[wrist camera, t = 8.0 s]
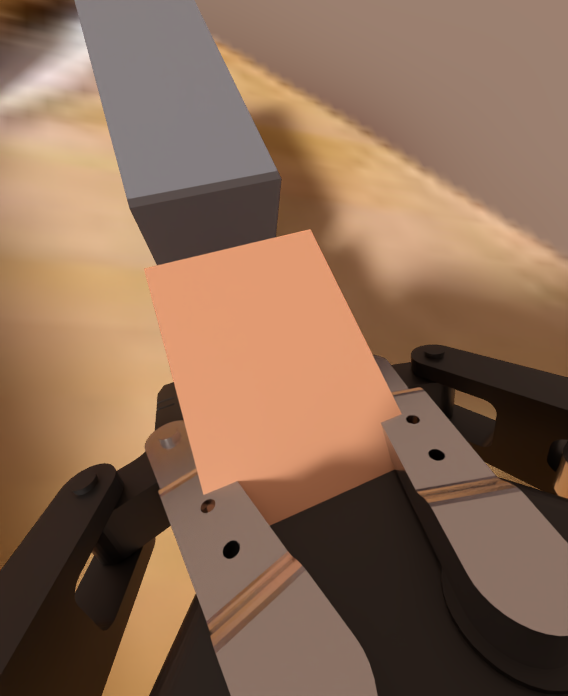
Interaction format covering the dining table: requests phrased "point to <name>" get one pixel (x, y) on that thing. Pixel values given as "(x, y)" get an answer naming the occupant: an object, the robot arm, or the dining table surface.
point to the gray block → (179, 129)
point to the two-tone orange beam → (272, 374)
